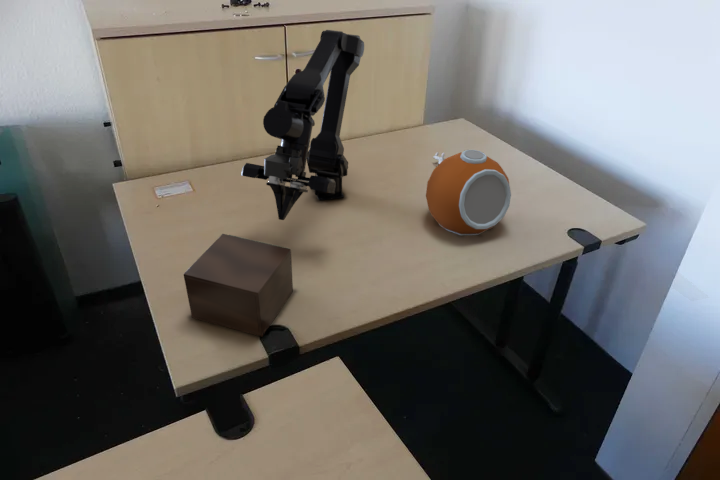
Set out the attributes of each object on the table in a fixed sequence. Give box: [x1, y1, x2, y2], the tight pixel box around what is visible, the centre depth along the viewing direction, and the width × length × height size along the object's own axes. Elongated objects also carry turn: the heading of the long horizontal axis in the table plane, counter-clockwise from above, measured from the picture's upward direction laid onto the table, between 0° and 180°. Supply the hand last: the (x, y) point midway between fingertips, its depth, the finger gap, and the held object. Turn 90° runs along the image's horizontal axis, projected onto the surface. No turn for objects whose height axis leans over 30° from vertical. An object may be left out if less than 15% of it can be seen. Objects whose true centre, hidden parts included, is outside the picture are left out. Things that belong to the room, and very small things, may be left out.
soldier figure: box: [432, 151, 445, 165], centre depth 147 cm, size 8×5×12 cm
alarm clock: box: [425, 149, 512, 236], centre depth 124 cm, size 19×18×17 cm
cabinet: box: [183, 233, 294, 338], centre depth 99 cm, size 13×14×10 cm
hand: (281, 219), depth 111 cm, fingers closed
